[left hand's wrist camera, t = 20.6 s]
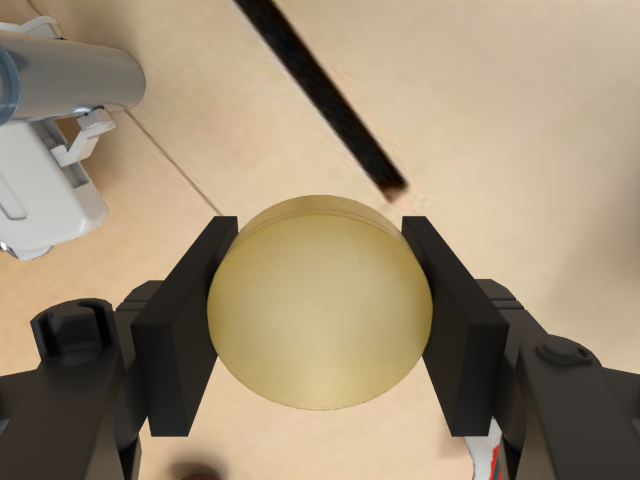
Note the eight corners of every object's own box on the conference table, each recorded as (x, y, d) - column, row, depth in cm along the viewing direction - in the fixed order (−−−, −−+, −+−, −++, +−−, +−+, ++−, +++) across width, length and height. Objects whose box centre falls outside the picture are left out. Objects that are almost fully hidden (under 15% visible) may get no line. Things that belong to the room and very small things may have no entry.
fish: (491, 544, 49) (541, 601, 39) (420, 425, 51) (450, 450, 41) (561, 492, 51) (625, 533, 41) (489, 378, 53) (534, 391, 43)
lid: (445, 218, 11) (466, 241, 9) (387, 384, 13) (397, 426, 11) (236, 173, 10) (222, 189, 9) (210, 352, 12) (193, 391, 11)
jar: (102, 116, 36) (-72, 143, 20) (76, 57, 34) (-135, 35, 18) (154, 101, 36) (19, 117, 20) (131, 41, 34) (-37, 4, 18)
